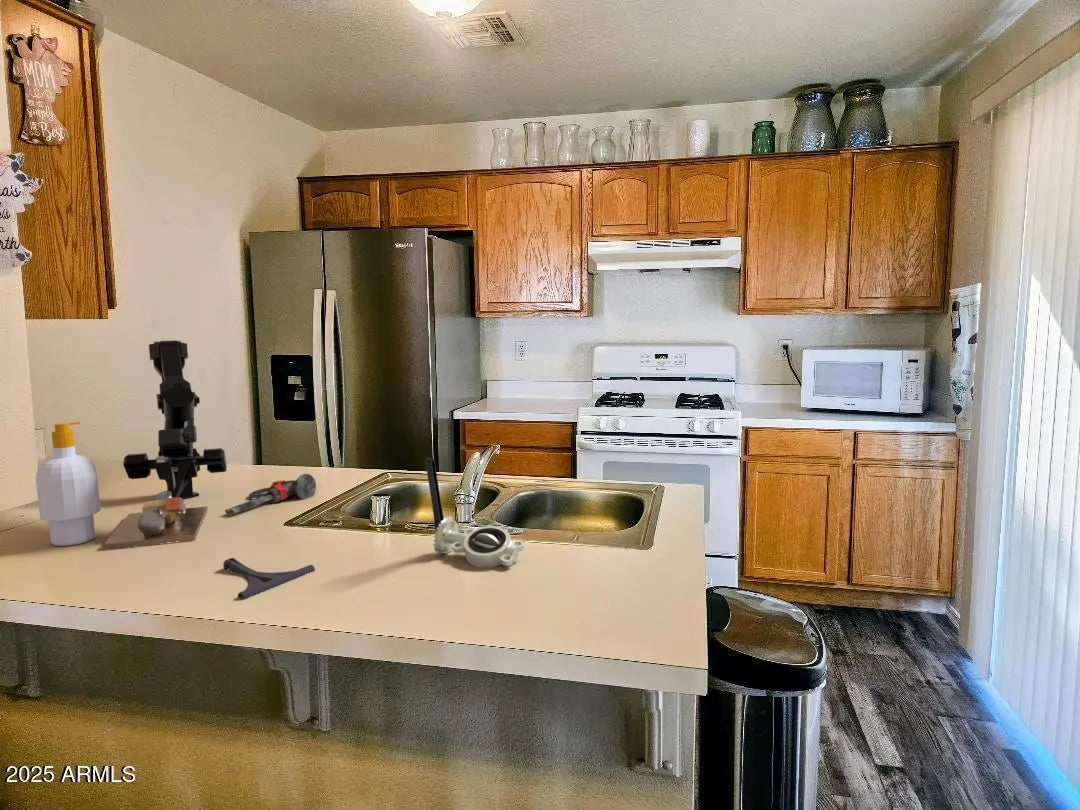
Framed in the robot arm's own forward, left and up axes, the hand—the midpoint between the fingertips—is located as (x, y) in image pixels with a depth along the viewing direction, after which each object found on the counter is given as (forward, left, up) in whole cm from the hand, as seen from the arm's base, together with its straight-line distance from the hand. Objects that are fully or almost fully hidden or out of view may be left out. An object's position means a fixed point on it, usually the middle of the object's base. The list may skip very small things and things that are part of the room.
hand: (174, 498), depth 140 cm
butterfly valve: (+59, +26, -9) cm, 65 cm away
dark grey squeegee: (+32, -3, -9) cm, 34 cm away
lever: (-7, +5, -5) cm, 10 cm away
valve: (-10, +27, -9) cm, 30 cm away
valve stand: (-9, +1, -8) cm, 12 cm away
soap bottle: (-16, -13, -9) cm, 22 cm away
